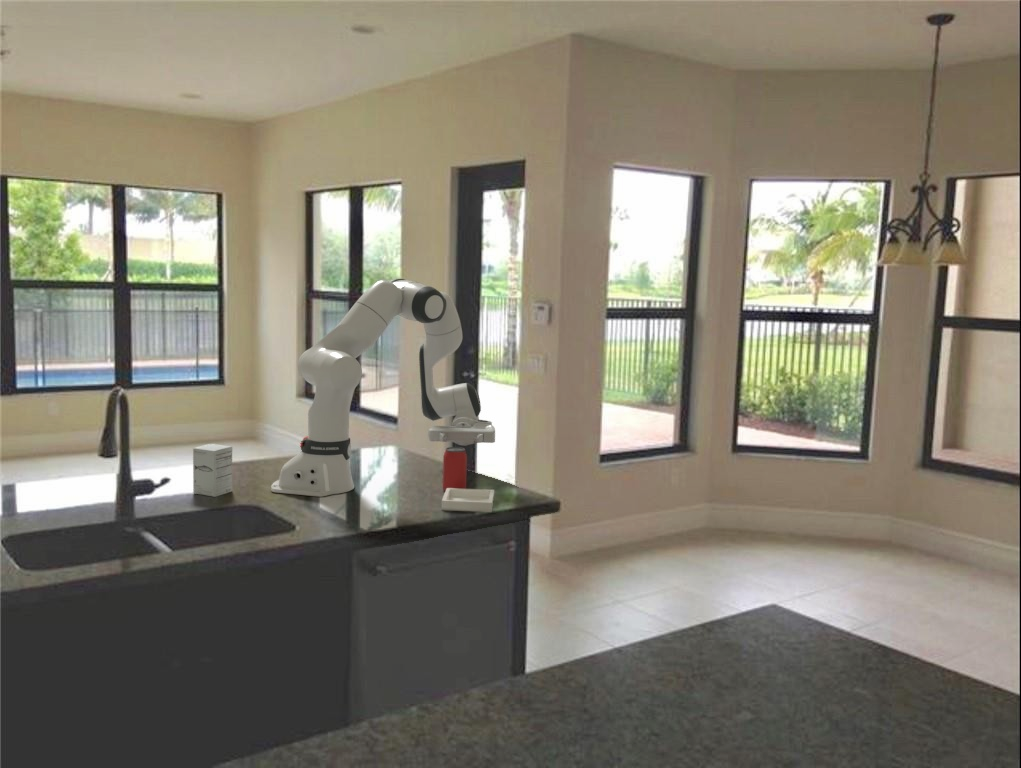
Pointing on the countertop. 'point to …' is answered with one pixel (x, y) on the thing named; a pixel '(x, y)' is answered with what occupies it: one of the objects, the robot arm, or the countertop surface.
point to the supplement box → (212, 470)
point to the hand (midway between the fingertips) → (460, 439)
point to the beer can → (454, 468)
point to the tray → (468, 500)
